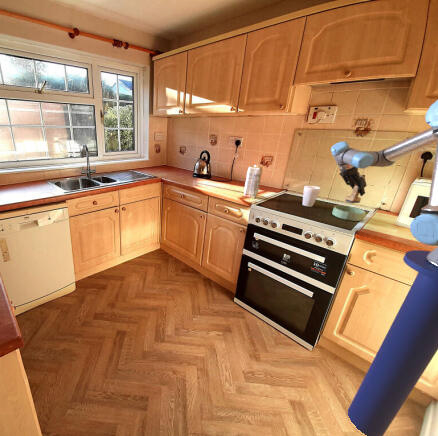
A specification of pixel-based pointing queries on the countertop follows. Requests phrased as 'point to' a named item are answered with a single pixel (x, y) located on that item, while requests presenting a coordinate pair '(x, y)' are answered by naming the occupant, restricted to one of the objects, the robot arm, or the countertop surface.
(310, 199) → the foam cup
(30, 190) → the countertop surface
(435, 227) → the robot arm
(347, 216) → the bowl
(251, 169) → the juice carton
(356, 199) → the dish brush
